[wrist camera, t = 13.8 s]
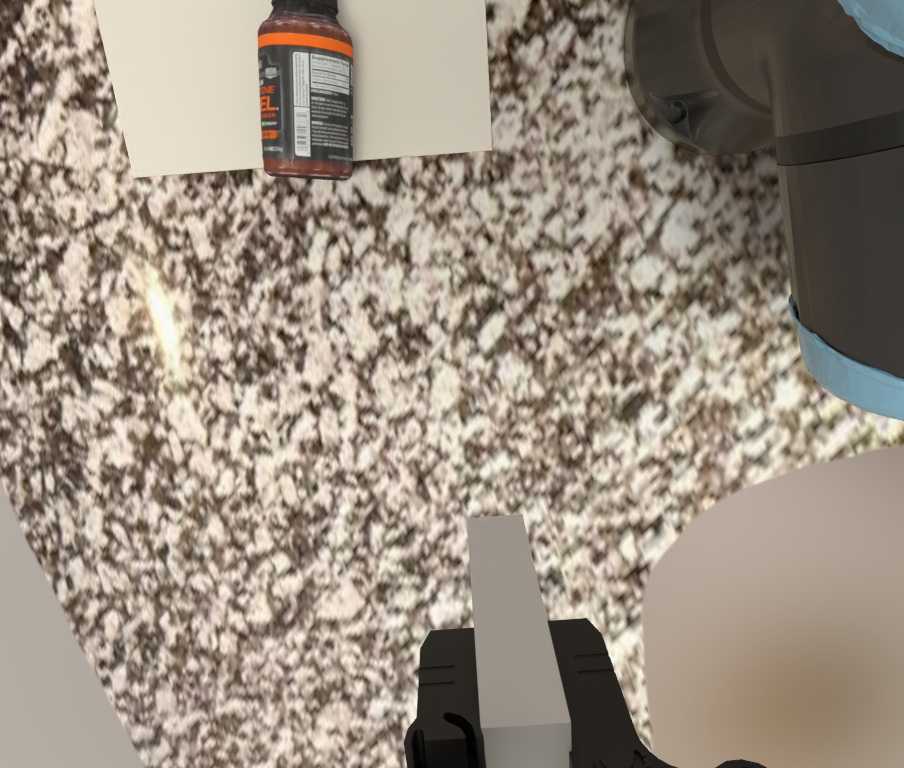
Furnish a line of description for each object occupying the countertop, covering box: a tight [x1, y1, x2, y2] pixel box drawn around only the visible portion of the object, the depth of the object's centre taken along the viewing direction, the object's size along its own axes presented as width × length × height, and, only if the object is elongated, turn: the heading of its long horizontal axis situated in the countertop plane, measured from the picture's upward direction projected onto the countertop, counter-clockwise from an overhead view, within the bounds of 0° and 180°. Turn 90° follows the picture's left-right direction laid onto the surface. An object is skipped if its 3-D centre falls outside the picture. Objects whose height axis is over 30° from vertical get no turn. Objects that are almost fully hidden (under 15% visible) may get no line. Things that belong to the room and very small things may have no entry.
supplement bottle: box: [258, 0, 353, 181], centre depth 39 cm, size 6×6×11 cm
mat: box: [93, 0, 492, 178], centre depth 40 cm, size 26×20×1 cm
